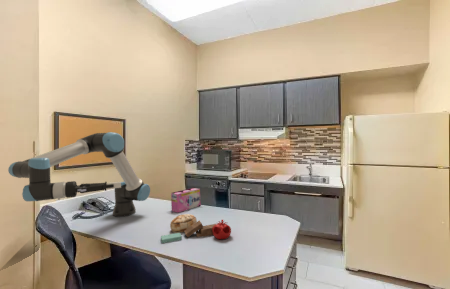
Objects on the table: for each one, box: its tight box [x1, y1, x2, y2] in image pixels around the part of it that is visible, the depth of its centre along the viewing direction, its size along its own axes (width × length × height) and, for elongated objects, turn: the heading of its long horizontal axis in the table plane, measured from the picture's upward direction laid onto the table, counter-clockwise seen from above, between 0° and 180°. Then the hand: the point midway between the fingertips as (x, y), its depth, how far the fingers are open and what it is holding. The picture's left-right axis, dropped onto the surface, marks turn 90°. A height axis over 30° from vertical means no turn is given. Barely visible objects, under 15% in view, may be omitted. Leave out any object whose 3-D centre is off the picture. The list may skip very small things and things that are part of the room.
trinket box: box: [169, 213, 198, 234], centre depth 134 cm, size 13×15×8 cm
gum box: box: [170, 187, 202, 214], centre depth 175 cm, size 24×8×14 cm, turn 138°
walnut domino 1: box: [183, 219, 204, 239], centre depth 125 cm, size 2×5×10 cm
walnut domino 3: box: [195, 230, 214, 238], centre depth 125 cm, size 2×5×10 cm
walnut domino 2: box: [198, 223, 217, 234], centre depth 126 cm, size 2×5×10 cm
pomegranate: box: [212, 219, 232, 240], centre depth 121 cm, size 10×10×9 cm
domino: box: [160, 233, 183, 244], centre depth 120 cm, size 2×5×10 cm
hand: (120, 184), depth 117 cm, fingers closed
